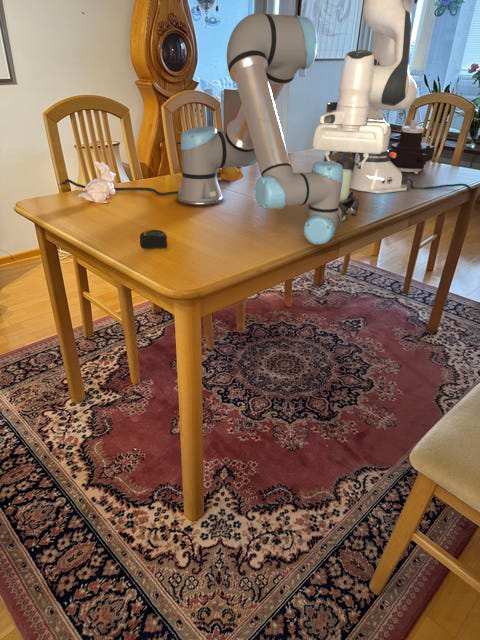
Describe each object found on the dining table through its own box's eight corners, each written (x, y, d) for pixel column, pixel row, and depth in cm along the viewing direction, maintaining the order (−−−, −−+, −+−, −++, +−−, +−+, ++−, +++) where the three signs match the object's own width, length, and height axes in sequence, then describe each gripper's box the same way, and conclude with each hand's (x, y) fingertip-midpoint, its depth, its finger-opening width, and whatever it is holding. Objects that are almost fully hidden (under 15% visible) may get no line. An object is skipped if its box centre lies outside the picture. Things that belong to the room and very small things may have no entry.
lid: (355, 170, 132) (356, 162, 131) (336, 169, 133) (337, 161, 132) (353, 166, 137) (354, 158, 136) (334, 165, 138) (335, 157, 136)
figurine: (124, 198, 157) (120, 160, 151) (89, 208, 146) (83, 167, 140) (108, 194, 161) (103, 157, 155) (73, 204, 150) (67, 164, 144)
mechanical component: (380, 119, 194) (409, 114, 214) (372, 170, 205) (400, 161, 225) (430, 124, 182) (455, 119, 202) (419, 178, 193) (444, 167, 213)
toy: (211, 173, 177) (218, 164, 190) (217, 189, 180) (223, 179, 193) (237, 164, 174) (242, 156, 187) (243, 180, 177) (247, 171, 189)
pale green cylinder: (329, 216, 145) (335, 161, 136) (343, 216, 145) (350, 161, 136) (332, 220, 141) (339, 164, 132) (346, 220, 141) (354, 164, 132)
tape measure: (140, 252, 115) (139, 238, 113) (141, 242, 120) (140, 229, 119) (167, 251, 116) (166, 237, 114) (167, 241, 121) (166, 228, 120)
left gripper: (296, 224, 130) (315, 203, 149) (359, 232, 124) (369, 210, 143) (299, 198, 126) (317, 180, 145) (363, 205, 121) (373, 186, 139)
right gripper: (388, 117, 129) (380, 167, 136) (316, 114, 132) (311, 163, 139) (390, 120, 123) (381, 172, 130) (314, 116, 127) (309, 167, 134)
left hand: (343, 195), depth 144 cm, fingers closed on pale green cylinder, 5 cm apart
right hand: (344, 167), depth 135 cm, fingers open, 7 cm apart
